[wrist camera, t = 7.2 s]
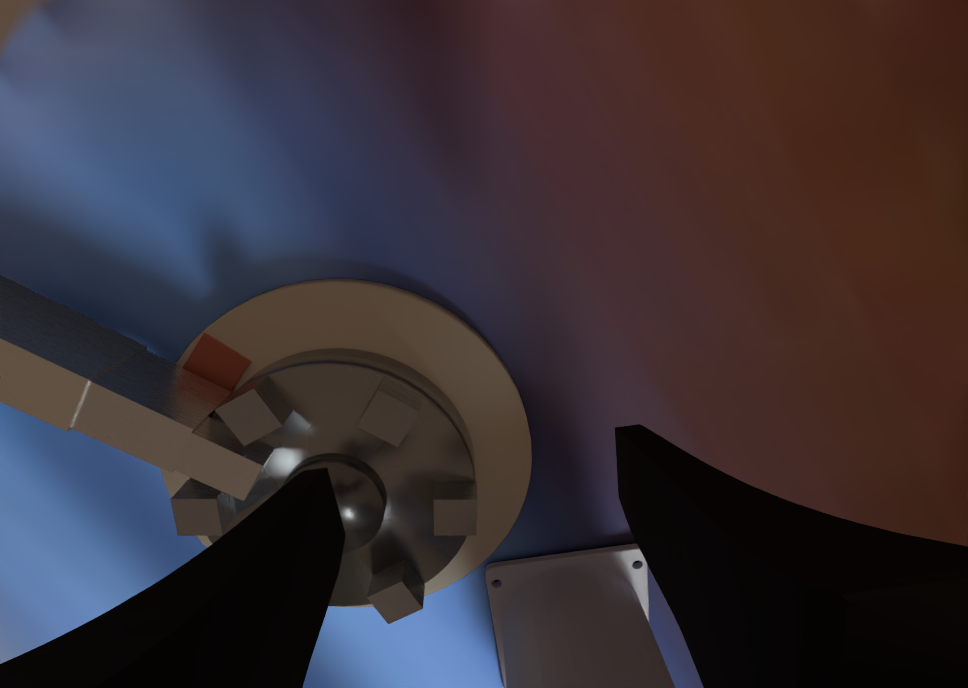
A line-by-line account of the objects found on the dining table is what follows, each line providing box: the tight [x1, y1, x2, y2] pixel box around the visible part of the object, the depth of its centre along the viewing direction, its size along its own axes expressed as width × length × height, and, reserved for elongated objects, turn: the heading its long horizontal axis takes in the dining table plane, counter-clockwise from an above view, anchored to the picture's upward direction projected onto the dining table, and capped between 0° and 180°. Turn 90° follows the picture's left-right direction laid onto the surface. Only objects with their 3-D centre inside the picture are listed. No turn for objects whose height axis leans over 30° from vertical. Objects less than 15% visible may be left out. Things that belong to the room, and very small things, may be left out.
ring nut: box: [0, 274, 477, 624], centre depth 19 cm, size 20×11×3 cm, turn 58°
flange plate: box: [160, 278, 532, 607], centre depth 22 cm, size 16×16×1 cm
